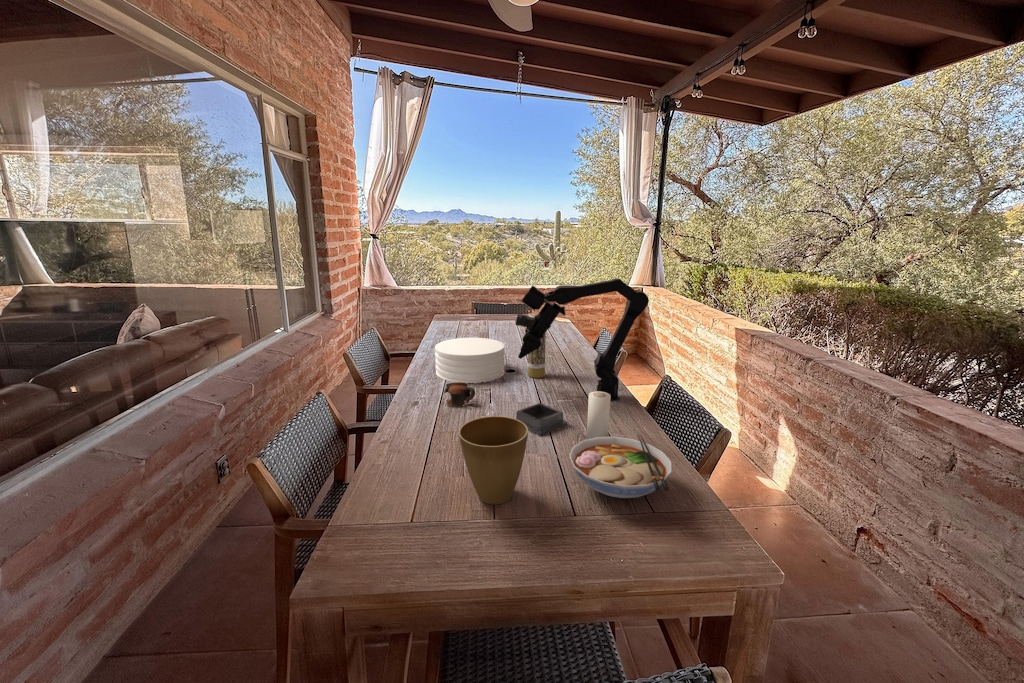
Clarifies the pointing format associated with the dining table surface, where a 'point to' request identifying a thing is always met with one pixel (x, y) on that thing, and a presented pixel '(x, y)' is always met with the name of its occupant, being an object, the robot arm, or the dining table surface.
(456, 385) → the pottery mug
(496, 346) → the plate stack
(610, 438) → the ramen bowl
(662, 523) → the dining table surface
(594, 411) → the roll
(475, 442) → the plant pot
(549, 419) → the holder
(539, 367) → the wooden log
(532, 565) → the dining table surface
